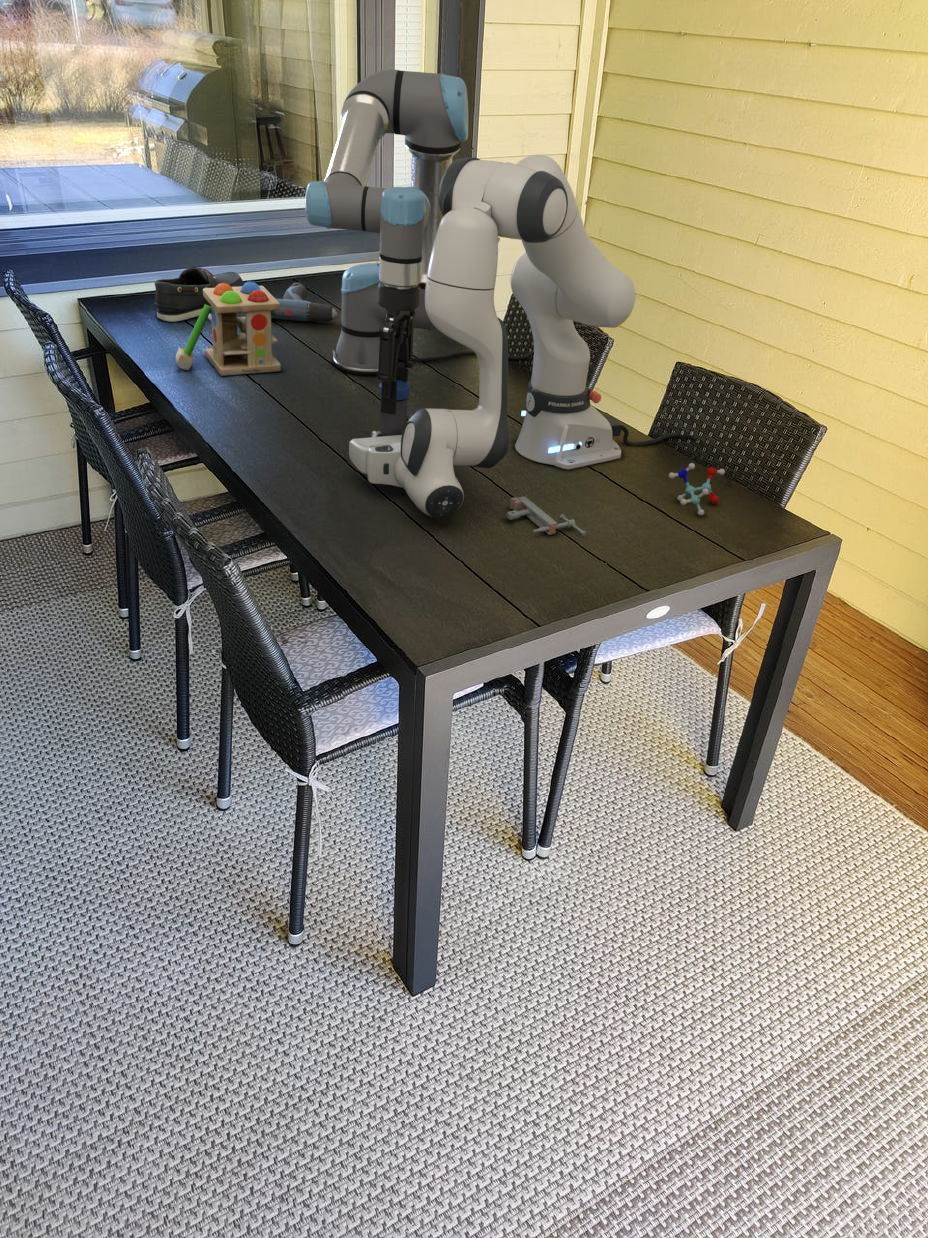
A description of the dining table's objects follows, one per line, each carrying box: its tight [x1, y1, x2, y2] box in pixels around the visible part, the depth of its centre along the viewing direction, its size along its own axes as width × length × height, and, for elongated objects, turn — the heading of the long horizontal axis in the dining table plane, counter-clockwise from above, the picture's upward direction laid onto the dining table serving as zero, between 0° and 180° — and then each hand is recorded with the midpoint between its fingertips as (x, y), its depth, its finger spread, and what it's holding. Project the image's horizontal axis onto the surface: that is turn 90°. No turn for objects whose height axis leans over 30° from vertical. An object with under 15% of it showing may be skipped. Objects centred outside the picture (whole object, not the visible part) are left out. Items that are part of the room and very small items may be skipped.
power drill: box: [271, 282, 338, 322], centre depth 265 cm, size 5×19×20 cm
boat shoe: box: [153, 265, 244, 323], centre depth 262 cm, size 13×33×10 cm, turn 147°
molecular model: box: [668, 462, 726, 517], centre depth 188 cm, size 12×10×10 cm
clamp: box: [506, 496, 587, 537], centre depth 177 cm, size 15×2×10 cm
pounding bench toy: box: [174, 281, 282, 377], centre depth 225 cm, size 23×14×18 cm, turn 116°
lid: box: [378, 380, 411, 400], centre depth 185 cm, size 6×6×2 cm
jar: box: [379, 397, 409, 436], centre depth 189 cm, size 5×5×16 cm
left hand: (393, 406), depth 187 cm, fingers closed on lid, 6 cm apart
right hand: (390, 432), depth 191 cm, fingers closed on jar, 5 cm apart
